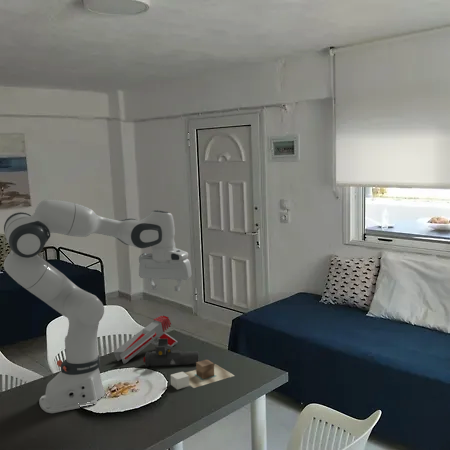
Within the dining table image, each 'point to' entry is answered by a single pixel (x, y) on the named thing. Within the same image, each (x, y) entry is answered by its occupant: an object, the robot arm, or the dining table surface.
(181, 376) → the cream block
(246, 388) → the dining table surface
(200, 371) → the walnut block
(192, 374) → the beige rectangular board
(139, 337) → the toy gun
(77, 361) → the robot arm
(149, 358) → the laser sight
